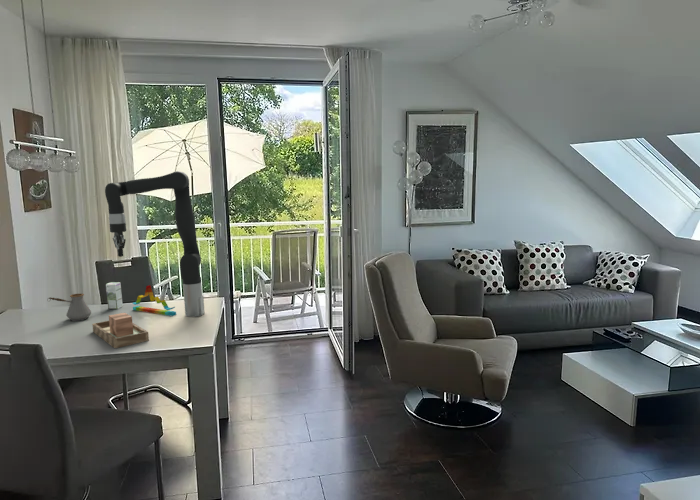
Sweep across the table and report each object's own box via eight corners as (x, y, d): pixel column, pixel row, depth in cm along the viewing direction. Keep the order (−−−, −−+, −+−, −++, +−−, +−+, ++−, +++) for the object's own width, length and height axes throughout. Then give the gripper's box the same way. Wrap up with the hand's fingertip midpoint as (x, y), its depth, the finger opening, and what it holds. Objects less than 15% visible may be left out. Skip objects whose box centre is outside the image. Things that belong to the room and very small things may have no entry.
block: (110, 332, 225) (108, 315, 224) (126, 329, 230) (124, 312, 229) (117, 337, 218) (115, 319, 217) (133, 333, 222) (131, 316, 221)
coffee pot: (81, 314, 267) (78, 287, 264) (96, 316, 262) (93, 289, 260) (43, 326, 247) (40, 296, 245) (59, 328, 243) (55, 298, 240)
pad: (106, 339, 224) (105, 333, 224) (133, 333, 232) (133, 327, 232) (113, 344, 216) (112, 338, 216) (141, 338, 224) (140, 332, 224)
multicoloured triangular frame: (176, 315, 263) (174, 287, 261) (171, 316, 260) (169, 288, 258) (137, 309, 277) (135, 282, 275) (133, 310, 274) (130, 284, 272)
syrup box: (123, 306, 282) (120, 281, 280) (117, 309, 277) (115, 284, 274) (113, 306, 283) (111, 281, 281) (107, 309, 277) (105, 284, 275)
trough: (93, 331, 235) (92, 323, 235) (124, 325, 245) (123, 317, 244) (114, 348, 211) (113, 339, 210) (148, 340, 221) (148, 331, 220)
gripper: (129, 222, 247) (132, 256, 249) (121, 221, 256) (124, 254, 259) (113, 223, 242) (117, 258, 244) (105, 222, 252) (108, 256, 254)
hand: (120, 256), depth 252 cm, fingers closed
